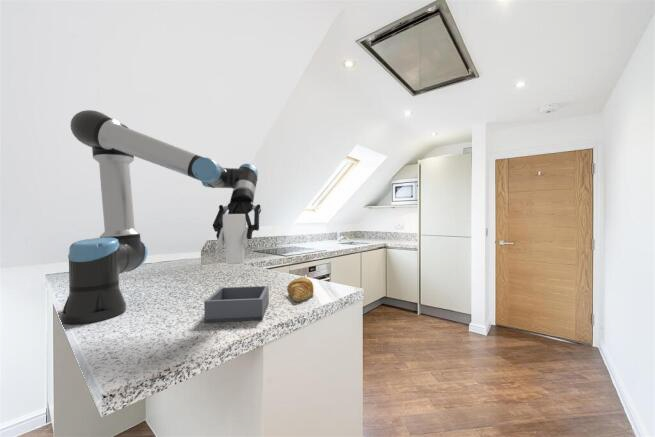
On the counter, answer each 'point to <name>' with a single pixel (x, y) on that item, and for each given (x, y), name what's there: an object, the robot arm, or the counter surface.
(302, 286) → the croissant
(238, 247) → the white plastic tumbler
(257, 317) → the bin
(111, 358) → the counter surface
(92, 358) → the counter surface
